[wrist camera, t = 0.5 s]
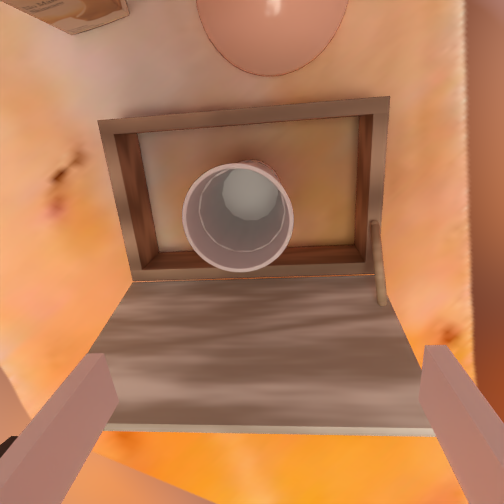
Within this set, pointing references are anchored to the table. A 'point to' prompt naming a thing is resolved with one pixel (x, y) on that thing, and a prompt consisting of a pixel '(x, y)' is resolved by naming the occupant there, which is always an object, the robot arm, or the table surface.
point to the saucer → (270, 31)
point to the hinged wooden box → (259, 311)
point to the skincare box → (73, 12)
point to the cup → (238, 216)
